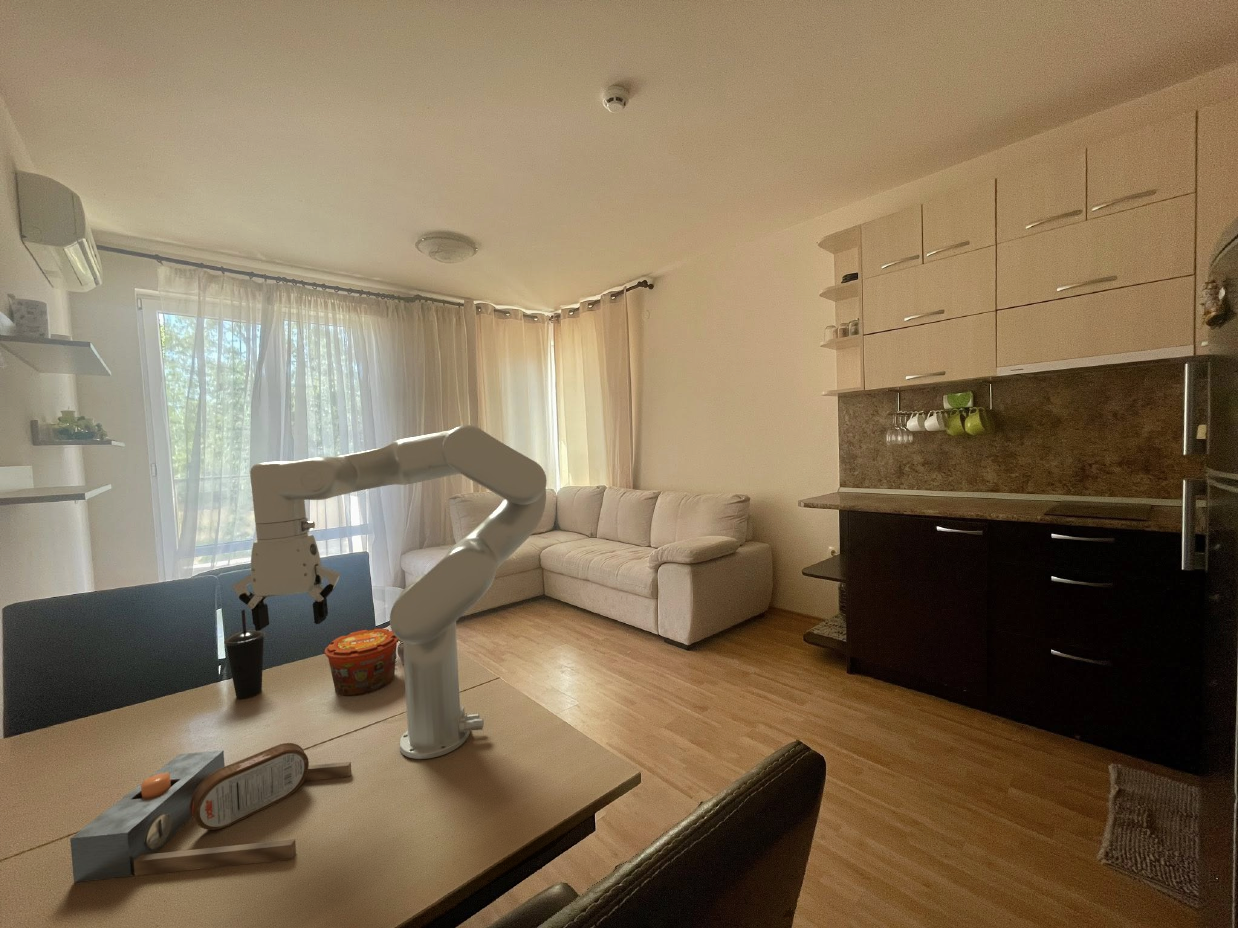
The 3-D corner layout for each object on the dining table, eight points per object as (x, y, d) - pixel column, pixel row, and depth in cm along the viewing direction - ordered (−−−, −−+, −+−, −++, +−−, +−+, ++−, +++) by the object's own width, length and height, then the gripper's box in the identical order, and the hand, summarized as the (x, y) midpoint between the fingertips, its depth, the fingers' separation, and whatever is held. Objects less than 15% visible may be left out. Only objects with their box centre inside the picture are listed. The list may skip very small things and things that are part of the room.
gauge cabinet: (228, 784, 84) (226, 749, 84) (134, 875, 66) (131, 832, 66) (181, 788, 83) (179, 753, 83) (73, 881, 65) (70, 838, 65)
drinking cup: (236, 689, 119) (231, 607, 118) (273, 683, 121) (268, 603, 120) (222, 704, 112) (215, 617, 111) (261, 698, 114) (255, 612, 113)
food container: (336, 707, 108) (333, 659, 108) (320, 683, 120) (317, 640, 120) (411, 682, 119) (408, 638, 119) (389, 662, 131) (386, 622, 130)
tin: (306, 780, 84) (302, 731, 84) (312, 787, 82) (309, 738, 82) (191, 835, 73) (187, 779, 73) (195, 845, 71) (191, 788, 71)
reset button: (177, 790, 76) (175, 771, 76) (159, 805, 73) (158, 785, 73) (154, 792, 76) (153, 773, 76) (136, 807, 73) (134, 787, 73)
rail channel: (351, 772, 86) (350, 761, 86) (291, 858, 68) (291, 844, 68) (229, 784, 84) (228, 772, 84) (134, 875, 66) (133, 861, 66)
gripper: (342, 522, 93) (351, 612, 94) (241, 531, 91) (251, 623, 91) (325, 529, 86) (334, 626, 86) (214, 539, 83) (225, 638, 84)
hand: (291, 624), depth 89 cm, fingers open, 9 cm apart
